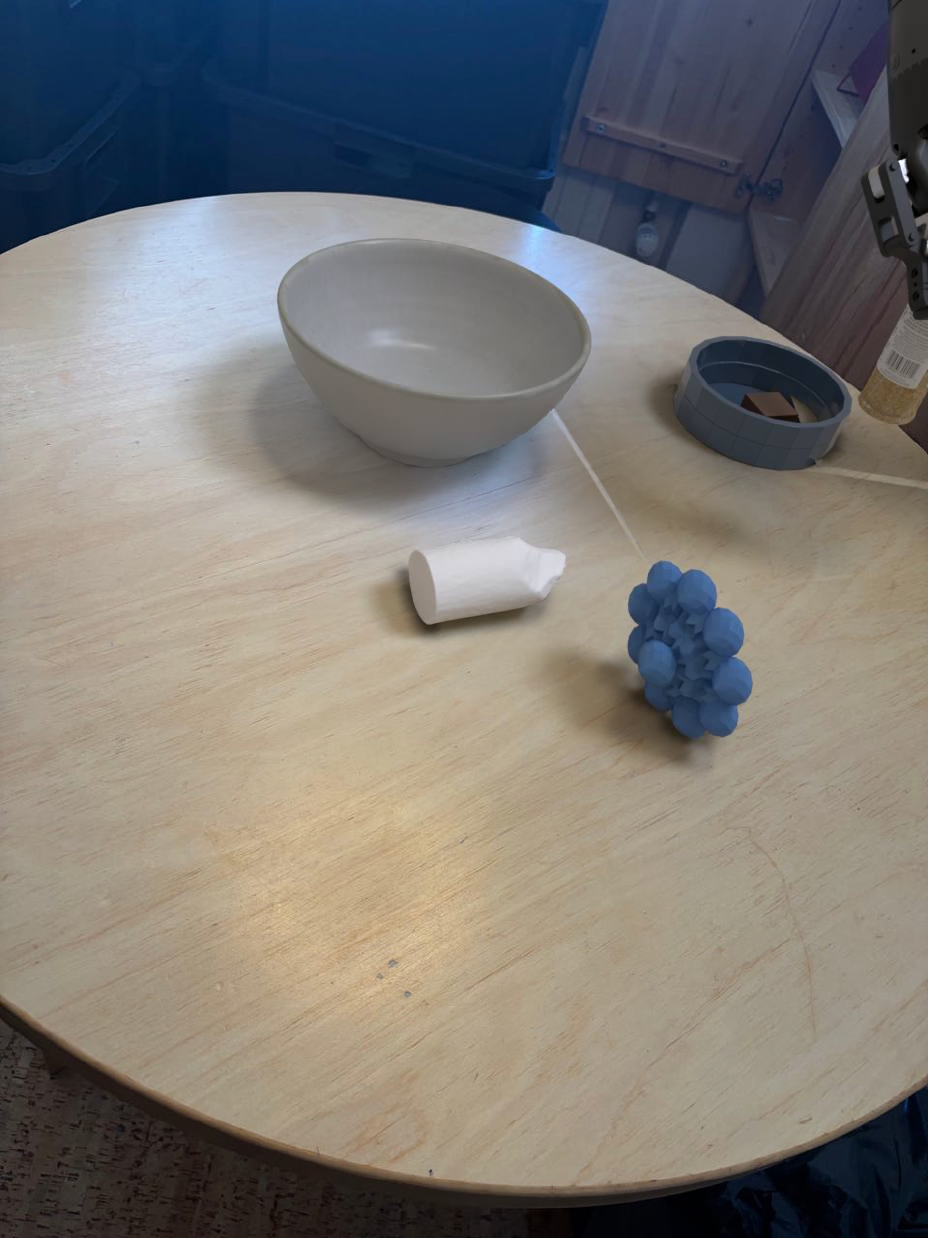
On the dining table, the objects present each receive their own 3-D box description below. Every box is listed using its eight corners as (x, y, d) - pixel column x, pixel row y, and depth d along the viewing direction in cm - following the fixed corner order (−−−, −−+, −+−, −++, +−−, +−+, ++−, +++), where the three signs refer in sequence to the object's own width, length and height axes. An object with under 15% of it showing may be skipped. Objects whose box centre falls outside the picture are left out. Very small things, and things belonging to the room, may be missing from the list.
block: (763, 424, 98) (778, 391, 96) (783, 447, 96) (799, 414, 93) (730, 426, 97) (745, 392, 94) (750, 450, 95) (765, 416, 92)
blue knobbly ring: (565, 669, 70) (608, 548, 62) (633, 642, 73) (683, 523, 65) (667, 788, 64) (730, 671, 56) (737, 752, 67) (806, 636, 59)
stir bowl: (808, 394, 106) (829, 350, 102) (845, 485, 94) (871, 438, 90) (664, 370, 104) (680, 324, 100) (682, 459, 92) (701, 411, 89)
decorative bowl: (235, 368, 91) (233, 245, 83) (478, 339, 102) (499, 229, 94) (340, 546, 76) (352, 418, 67) (613, 490, 87) (652, 374, 78)
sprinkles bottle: (923, 422, 74) (1022, 258, 65) (882, 430, 72) (978, 262, 63) (883, 390, 77) (972, 227, 67) (842, 397, 75) (928, 231, 66)
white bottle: (572, 616, 74) (591, 563, 70) (429, 640, 70) (440, 585, 66) (542, 565, 78) (557, 512, 74) (404, 585, 74) (412, 530, 70)
